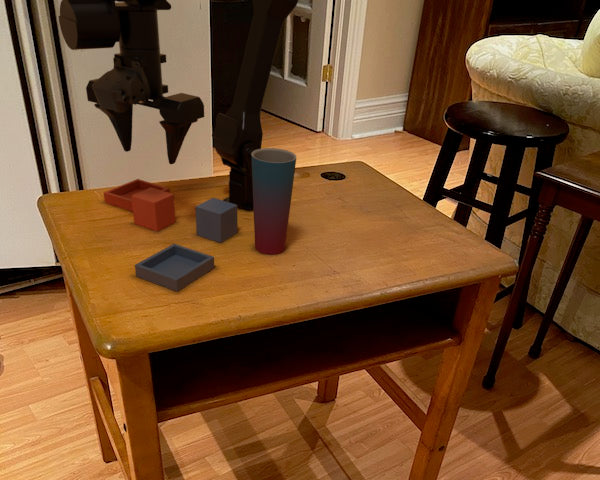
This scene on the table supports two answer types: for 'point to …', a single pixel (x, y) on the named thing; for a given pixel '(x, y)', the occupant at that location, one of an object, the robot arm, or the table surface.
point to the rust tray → (129, 193)
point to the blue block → (216, 220)
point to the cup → (272, 197)
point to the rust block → (153, 209)
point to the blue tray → (174, 267)
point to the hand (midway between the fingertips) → (149, 157)
